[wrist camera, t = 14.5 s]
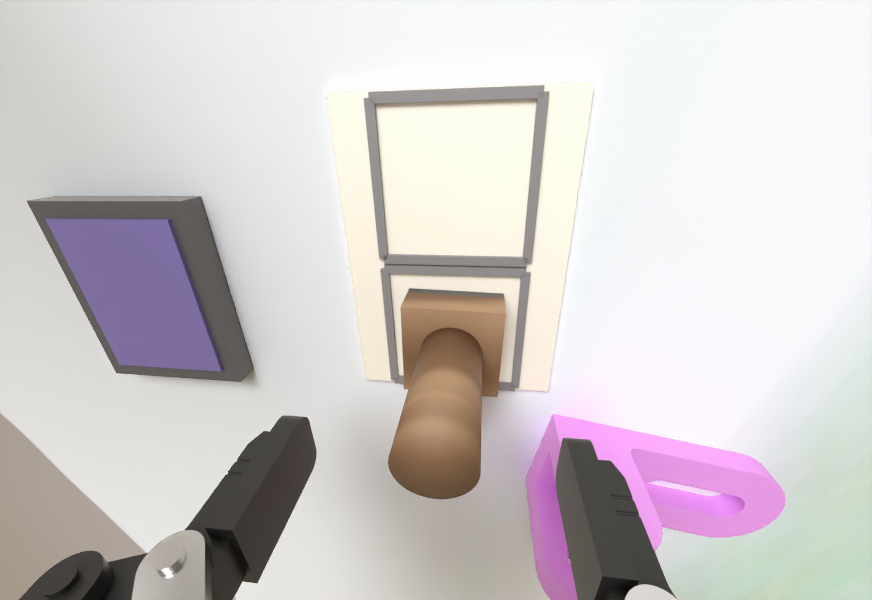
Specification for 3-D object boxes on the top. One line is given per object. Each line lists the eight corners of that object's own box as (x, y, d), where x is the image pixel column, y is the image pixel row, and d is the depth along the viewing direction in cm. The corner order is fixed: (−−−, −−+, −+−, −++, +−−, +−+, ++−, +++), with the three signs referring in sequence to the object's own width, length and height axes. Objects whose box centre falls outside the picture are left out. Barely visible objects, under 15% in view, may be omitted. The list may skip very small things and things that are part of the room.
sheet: (329, 92, 14) (323, 92, 14) (592, 82, 13) (596, 81, 12) (366, 376, 20) (364, 381, 20) (547, 387, 19) (548, 394, 18)
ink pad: (54, 196, 18) (21, 201, 16) (200, 196, 17) (177, 202, 15) (134, 361, 22) (113, 375, 21) (253, 368, 21) (238, 383, 20)
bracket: (525, 476, 22) (540, 610, 16) (552, 412, 20) (582, 541, 14) (733, 522, 22) (831, 679, 16) (788, 462, 19) (931, 621, 13)
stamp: (409, 288, 17) (354, 404, 10) (503, 293, 17) (517, 420, 9) (411, 364, 19) (367, 506, 12) (496, 371, 18) (502, 524, 11)
